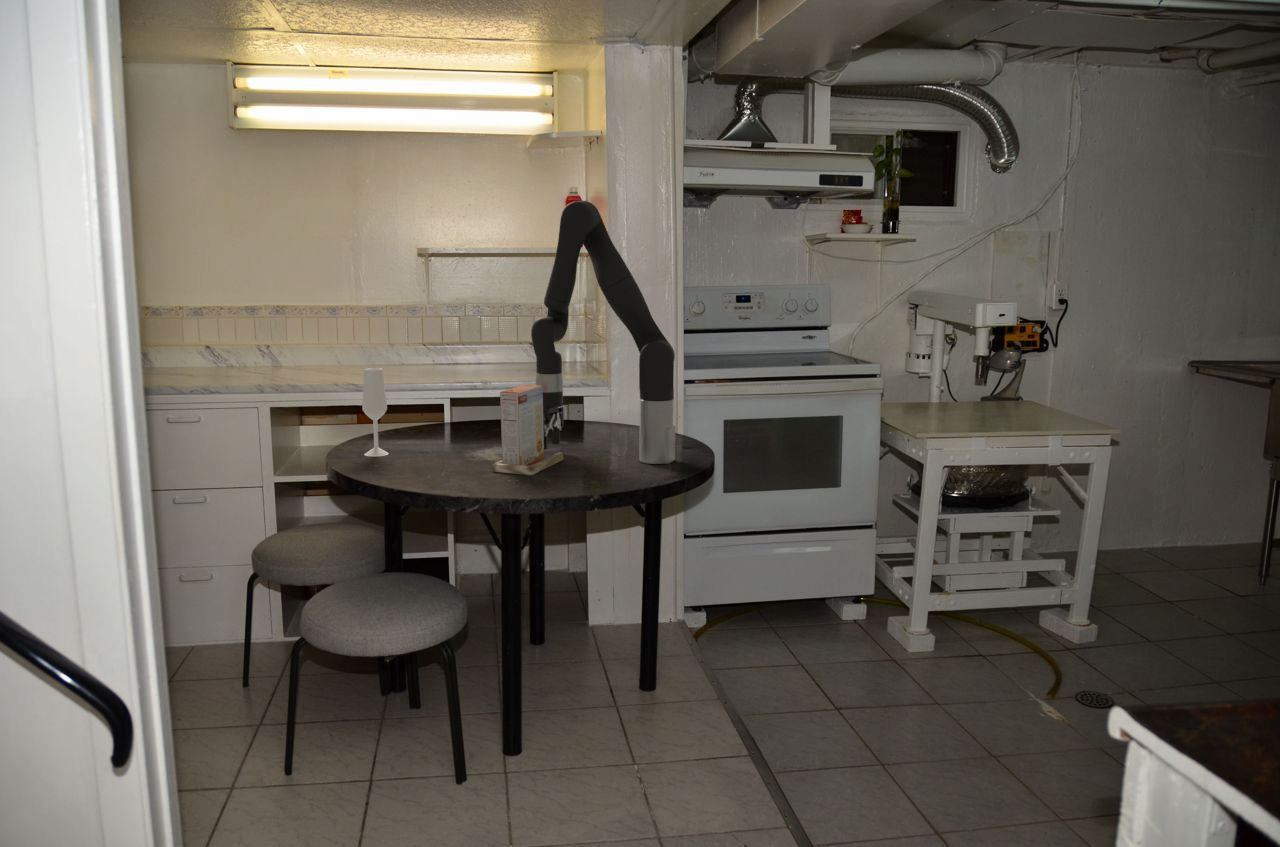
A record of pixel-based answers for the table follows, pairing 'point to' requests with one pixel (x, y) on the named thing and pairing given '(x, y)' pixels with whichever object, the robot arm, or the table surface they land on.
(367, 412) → the champagne flute
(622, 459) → the table surface
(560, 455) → the outline frame
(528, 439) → the cracker box
